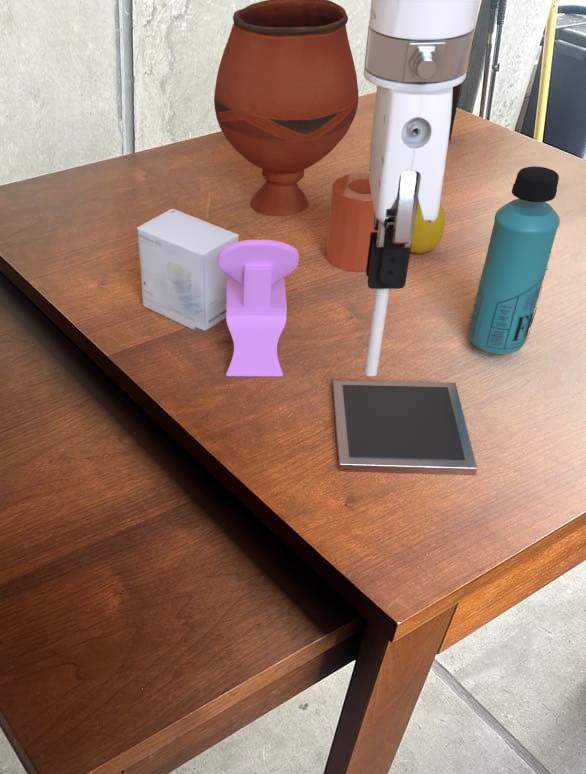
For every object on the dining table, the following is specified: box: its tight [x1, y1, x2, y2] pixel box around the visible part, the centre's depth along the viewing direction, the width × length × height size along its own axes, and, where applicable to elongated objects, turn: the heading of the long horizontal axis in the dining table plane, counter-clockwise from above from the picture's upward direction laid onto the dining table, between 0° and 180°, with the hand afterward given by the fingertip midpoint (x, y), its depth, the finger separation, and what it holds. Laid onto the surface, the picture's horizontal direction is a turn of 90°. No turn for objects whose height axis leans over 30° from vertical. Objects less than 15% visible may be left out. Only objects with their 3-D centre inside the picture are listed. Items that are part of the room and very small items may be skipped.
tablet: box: [331, 379, 478, 476], centre depth 88 cm, size 13×14×1 cm
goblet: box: [213, 0, 359, 218], centre depth 116 cm, size 19×19×25 cm
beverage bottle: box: [467, 165, 561, 355], centre depth 91 cm, size 6×7×20 cm
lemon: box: [410, 201, 446, 255], centre depth 111 cm, size 6×6×8 cm
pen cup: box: [325, 172, 378, 273], centre depth 109 cm, size 8×8×10 cm
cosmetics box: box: [136, 208, 240, 331], centre depth 101 cm, size 10×6×10 cm, turn 47°
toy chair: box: [218, 239, 300, 377], centre depth 93 cm, size 8×9×15 cm
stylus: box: [364, 222, 394, 377], centre depth 78 cm, size 1×1×15 cm
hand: (384, 280), depth 77 cm, fingers closed on stylus, 1 cm apart
